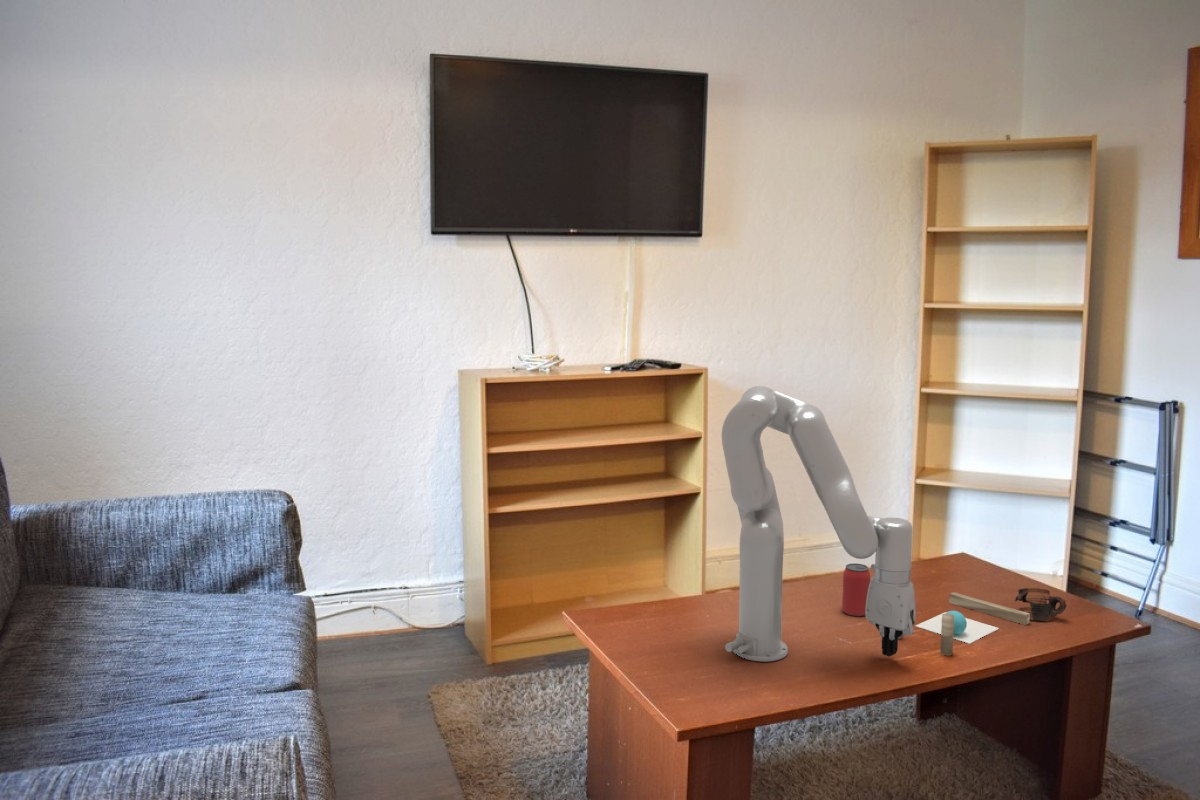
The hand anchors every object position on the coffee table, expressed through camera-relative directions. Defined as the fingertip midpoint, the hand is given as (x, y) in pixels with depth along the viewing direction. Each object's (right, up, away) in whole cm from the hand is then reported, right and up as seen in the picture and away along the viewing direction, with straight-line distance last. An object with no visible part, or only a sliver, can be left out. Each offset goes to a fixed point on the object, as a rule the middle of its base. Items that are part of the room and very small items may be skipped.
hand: (889, 653), depth 204 cm
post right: (+14, -1, +4) cm, 15 cm away
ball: (+20, +3, +14) cm, 25 cm away
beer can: (0, +2, +29) cm, 29 cm away
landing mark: (+22, +1, +19) cm, 29 cm away
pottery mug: (+46, +2, +26) cm, 53 cm away
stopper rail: (+34, +3, +28) cm, 44 cm away
